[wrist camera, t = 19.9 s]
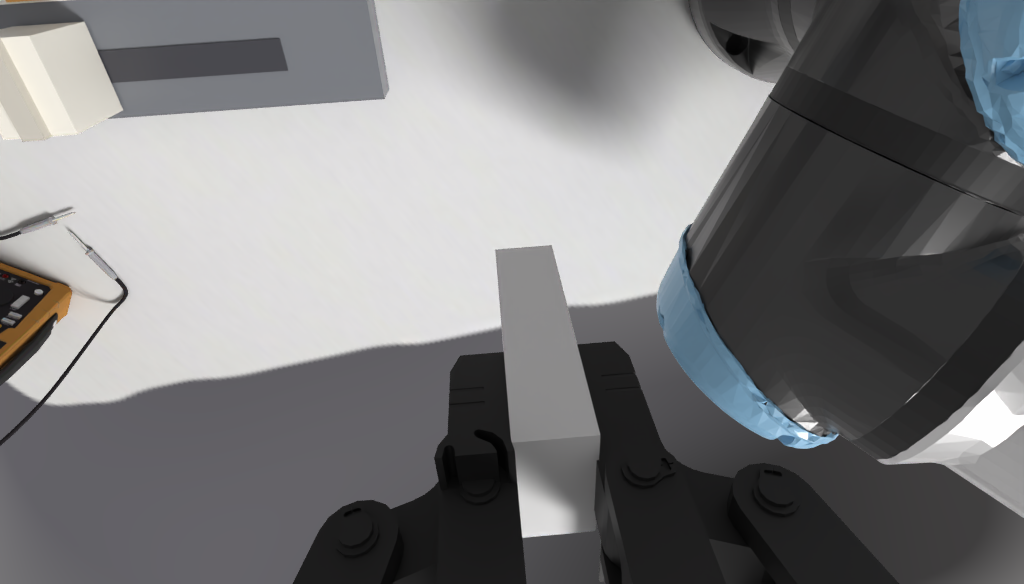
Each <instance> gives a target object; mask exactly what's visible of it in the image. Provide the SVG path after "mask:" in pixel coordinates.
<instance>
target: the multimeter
mask: <svg viewBox="0 0 1024 584" xmlns="http://www.w3.org/2000/svg"><path fill="white" fill-rule="evenodd" d="M74 213H76V212H71V213H68V214H65V215H62V216H60V217H57V218H54V217H49V218H48V219H45V220H42V221H40V222H37V223H34V224H31V225H29V226H26V227H24V228H22V229H20V231H18V232H15V233H12V234H9V235H6V236H1V237H0V240H4V239H8V238H11V237H14V236H17V235H19V234H22V233H23V234H24V233H29V232H32V231H35V230H38V229H41V228H43V227H46V226H49V225H54V224H56V223H57V220H59V219H62V218H65V217H68V216H71V215H73V214H74ZM68 232H69V233H70V235H71V236H72V237H73V238H74V239H75V240H76V241H77V242H78V243H79V244H80V245H81V246H82V247H83V248H84V249H85V250H86V251H87V252H86V253H85V254H86V255H88V256H89V257H90V258H91V259H92V260H93V261H94V262H95V263H96V264H97V265H98V266H99V267H100V268H101V269H102V270H103V271H104V272H105V273H106V274H107V275H108V276H109V277H111V278H112V279H114V280H115V281H116V282H117V283H118V284H119V285H120V286H121V287H122V288H123V290H124V296H123V298H122V299H121V300H120V301H119V302H118V303H117V304H116V305H115V306H114V307H113V309H112V310H111V311H110V312H109V313H108V315H107V316H106V317H105V318H104V320H103V321H102V322H101V324H100V325H99V326H98V328H97V329H96V330H95V332H94V333H93V334H92V336H91V337H90V339H89V340H88V341H87V343H86V344H85V345H84V347H83V348H82V349H81V351H80V352H79V353H78V355H77V356H76V357H75V359H74V360H73V361H72V363H71V364H70V365H69V367H68V368H67V369H66V371H65V372H64V373H63V375H62V376H61V377H60V378H59V380H58V381H57V382H56V383H55V385H54V386H53V387H52V388H51V390H50V391H49V392H48V393H47V395H46V396H45V397H44V398H43V399H42V400H41V401H40V403H39V404H38V405H37V406H36V407H35V408H34V409H33V410H32V411H31V412H30V413H29V414H28V415H27V416H26V417H25V418H24V419H23V420H22V421H21V422H20V423H19V424H18V425H17V426H16V427H15V428H14V429H13V430H12V431H11V432H10V433H8V434H7V435H6V436H5V437H4V438H3V439H2V440H0V446H1V445H2V444H3V443H4V442H5V441H6V440H8V439H9V438H10V437H11V436H12V435H13V434H14V433H15V432H16V431H17V430H18V429H19V428H20V427H21V426H22V425H23V424H24V423H25V422H27V421H28V420H29V419H30V418H31V417H32V415H33V414H34V413H35V412H36V411H37V410H38V409H39V408H40V407H41V406H42V405H43V404H44V403H45V401H46V400H47V399H48V398H49V397H50V396H51V394H52V393H53V392H54V391H55V389H56V388H57V387H58V386H59V384H60V383H61V382H62V381H63V379H64V378H65V377H66V375H67V374H68V373H69V371H70V370H71V369H72V367H73V366H74V365H75V363H76V362H77V361H78V359H79V358H80V356H81V355H82V354H83V352H84V351H85V350H86V348H87V347H88V346H89V344H90V343H91V342H92V340H93V339H94V337H95V336H96V335H97V333H98V332H99V331H100V329H101V328H102V326H103V325H104V324H105V322H106V321H107V320H108V319H109V317H110V316H111V315H112V313H113V312H114V311H115V310H116V309H117V308H118V307H119V306H120V305H121V304H122V303H123V302H124V300H125V299H126V297H127V296H128V290H127V288H126V286H125V285H124V284H123V283H122V282H121V281H120V280H119V279H118V278H117V276H116V274H115V273H114V272H113V271H112V270H111V269H110V268H109V267H108V266H107V265H106V264H105V263H104V261H103V260H102V259H101V258H100V257H99V256H98V255H97V254H96V253H95V252H94V250H93V249H91V250H89V249H88V248H87V247H86V246H85V245H84V244H83V243H82V242H81V241H80V240H79V239H78V238H77V237H76V236H75V235H74V234H73V233H71V232H70V231H68ZM71 295H72V291H71V289H70V288H69V287H68V286H66V285H63V284H61V283H59V282H57V283H55V282H52V281H49V280H46V279H44V278H41V277H38V276H35V275H33V274H30V273H27V272H25V271H22V270H19V269H16V268H14V267H11V266H8V265H5V264H3V263H0V385H2V384H3V383H4V382H5V381H7V380H8V379H9V378H10V377H11V376H12V375H13V374H14V373H15V372H16V371H18V370H19V369H20V368H21V367H22V366H23V365H24V364H25V363H26V362H27V361H28V360H29V359H30V358H31V357H32V356H33V355H34V354H35V353H36V352H37V351H38V350H39V349H40V347H41V346H42V345H43V344H44V342H45V341H46V340H47V338H48V337H49V336H50V335H51V330H52V329H53V327H54V326H55V325H56V324H57V323H58V322H59V321H60V320H61V319H62V318H63V317H64V316H66V315H67V312H68V308H69V304H70V299H71Z"/></svg>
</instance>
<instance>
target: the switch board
mask: <svg viewBox="0 0 1024 584" xmlns="http://www.w3.org/2000/svg"><path fill="white" fill-rule="evenodd" d="M71 22H85V24H86V26H87V29H88V31H89V33H90V36H91V38H92V40H93V42H94V45H95V47H96V49H97V51H98V54H99V56H100V58H101V61H102V63H103V65H104V67H105V70H106V72H107V74H108V77H109V79H110V81H111V83H112V86H113V88H114V90H115V92H116V95H117V97H118V99H119V102H120V104H121V106H122V108H123V111H121V112H119V113H117V114H115V115H113V116H112V117H110V118H108V119H111V118H125V117H139V116H153V115H167V114H181V113H195V112H209V111H223V110H237V109H250V108H264V107H278V106H292V105H306V104H320V103H334V102H348V101H362V100H376V99H385V97H386V94H387V92H388V90H389V86H388V80H387V74H386V68H385V62H384V56H383V51H382V45H381V39H380V33H379V27H378V21H377V16H376V10H375V4H374V0H0V29H4V28H8V27H13V26H26V25H41V24H56V23H71Z"/></svg>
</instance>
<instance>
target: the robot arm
mask: <svg viewBox="0 0 1024 584" xmlns="http://www.w3.org/2000/svg"><path fill="white" fill-rule="evenodd" d="M689 5H690V9H691V13H692V16H693V19H694V22H695V24H696V27H697V29H698V31H699V33H700V35H701V36H702V38H703V40H704V41H705V43H706V44H707V45H708V47H709V48H710V49H711V50H712V51H713V52H714V53H715V54H716V55H717V56H718V57H719V58H720V59H721V60H722V61H724V62H725V63H726V64H728V65H729V66H731V67H733V68H735V69H737V70H739V71H740V72H742V73H744V74H746V75H748V76H750V77H753V78H755V79H758V80H761V81H765V82H770V83H776V85H775V87H774V88H773V90H772V92H771V93H770V95H768V97H767V99H766V101H765V102H764V104H763V106H762V108H761V109H760V111H759V113H758V115H757V116H756V118H755V120H754V122H753V123H752V125H751V127H750V128H749V130H748V132H747V134H746V135H745V137H744V139H743V140H742V142H741V144H740V145H739V147H738V149H737V150H736V152H735V154H734V155H733V157H732V159H731V160H730V162H729V164H728V165H727V167H726V169H725V170H724V172H723V174H722V176H721V177H720V179H719V181H718V182H717V184H716V186H715V187H714V189H713V191H712V192H711V194H710V196H709V197H708V199H707V201H706V202H705V204H704V206H703V207H702V209H701V211H700V212H699V214H698V216H697V218H696V219H695V221H694V223H692V224H691V225H688V226H687V227H686V229H685V230H684V232H683V233H682V235H681V238H680V241H679V249H678V251H677V253H676V255H675V257H674V259H673V261H672V263H671V264H670V266H669V268H668V270H667V272H666V274H665V276H664V278H663V280H662V282H661V284H660V287H659V290H658V295H657V314H658V318H659V322H660V325H661V327H662V328H663V330H664V338H665V340H666V342H667V344H668V346H669V348H670V350H671V352H672V353H673V355H674V357H675V358H676V360H677V361H678V363H679V364H680V366H681V367H682V368H683V370H684V371H685V372H686V374H687V375H688V376H689V377H690V379H691V380H692V381H693V382H694V383H695V384H696V385H697V386H698V388H699V389H700V390H701V391H702V392H703V393H704V394H705V395H707V397H708V398H709V399H710V400H712V401H713V402H714V403H715V404H716V405H717V406H718V407H719V408H721V409H722V410H723V411H724V412H725V413H727V414H728V415H729V416H731V417H732V418H733V419H735V420H736V421H737V422H739V423H740V424H742V425H743V426H745V427H747V428H748V429H750V430H751V431H753V432H755V433H757V434H759V435H760V436H763V437H765V438H767V439H775V438H778V439H779V440H780V441H781V442H782V443H783V444H784V445H786V446H791V447H795V448H804V449H806V448H813V447H816V446H818V445H820V444H827V443H828V442H830V441H832V440H835V438H836V437H837V436H838V435H839V434H840V435H841V436H843V437H844V438H846V439H848V440H849V441H850V442H852V443H853V444H855V445H856V446H858V447H859V448H861V449H862V450H863V451H865V452H866V453H868V454H869V455H871V456H872V457H874V458H875V459H877V460H878V461H880V462H881V463H883V464H904V463H905V464H906V463H925V462H933V463H938V464H944V465H945V466H947V467H948V468H950V469H951V470H953V471H954V472H956V473H957V474H959V475H960V476H962V477H963V478H965V479H966V480H968V481H969V482H971V483H972V484H974V485H975V486H977V487H978V488H980V489H981V490H983V491H984V492H986V493H987V494H989V495H990V496H992V497H993V498H995V499H997V500H998V501H999V502H1001V503H1002V504H1004V505H1005V506H1007V507H1008V508H1010V509H1011V510H1013V511H1014V512H1016V513H1017V514H1019V515H1020V516H1022V517H1023V518H1024V0H689ZM496 263H497V275H498V288H499V300H500V312H501V325H502V335H503V336H502V337H503V349H504V352H499V353H487V354H475V355H463V356H460V357H459V358H458V360H457V362H456V363H455V365H454V367H453V368H452V370H451V372H450V394H449V416H448V435H447V436H446V437H445V438H444V439H443V440H442V442H441V443H440V444H439V445H438V448H437V451H436V454H435V457H434V459H435V464H436V469H437V474H438V479H439V482H438V483H437V484H436V485H435V486H434V488H432V489H431V490H430V491H428V492H427V493H426V494H425V495H423V496H421V497H419V498H417V499H415V500H413V501H411V502H408V503H406V504H403V505H400V506H398V507H395V508H393V509H390V508H389V507H388V506H387V505H386V504H383V503H380V502H376V501H374V500H366V501H356V502H354V503H351V504H349V505H346V506H343V507H342V508H340V509H339V510H338V511H337V512H335V513H334V514H332V515H331V516H330V517H329V518H328V519H327V521H326V522H325V523H324V525H323V526H322V528H321V529H320V530H319V532H318V534H317V536H316V538H315V540H314V542H313V544H312V546H311V548H310V550H309V552H308V554H307V556H306V558H305V560H304V562H303V564H302V566H301V568H300V570H299V572H298V574H297V576H296V578H295V580H294V582H293V584H526V574H525V563H524V553H523V541H522V538H523V537H535V536H545V535H556V534H567V533H578V532H589V531H595V530H596V520H597V525H598V529H599V535H600V539H601V548H600V563H599V582H605V584H899V583H898V582H897V581H896V580H895V578H894V577H893V576H892V575H891V574H890V573H889V572H888V571H887V570H886V569H885V567H883V565H882V564H881V563H880V562H879V561H878V560H877V559H876V558H875V557H874V555H873V554H872V553H871V552H870V551H869V550H868V549H867V548H866V547H865V546H864V544H862V542H861V541H860V540H859V539H858V538H857V537H856V536H855V535H854V533H853V532H852V531H851V530H850V529H849V528H848V527H847V526H846V525H845V524H844V522H843V521H842V520H841V519H840V518H839V517H838V516H837V515H836V514H835V513H834V511H833V510H832V509H831V508H830V507H829V506H828V505H827V504H826V503H825V502H824V501H823V500H822V498H821V497H820V496H819V495H818V494H817V493H816V492H815V491H814V490H813V488H812V487H811V486H810V485H809V484H808V483H806V482H805V481H804V480H803V479H802V478H800V477H799V476H798V475H797V474H795V473H794V472H791V471H789V470H787V469H785V468H783V467H781V466H777V465H771V464H766V463H760V464H753V465H748V466H747V467H745V468H743V469H741V470H739V471H738V473H737V474H736V476H735V478H730V477H724V476H719V475H714V474H708V473H704V472H700V471H697V470H693V469H691V468H689V467H687V466H685V465H683V464H681V463H680V462H678V461H677V460H676V459H675V457H674V456H673V455H671V454H670V453H669V452H668V451H666V449H665V448H664V446H663V444H662V442H661V440H660V438H659V435H658V432H657V430H656V427H655V424H654V421H653V419H652V416H651V413H650V411H649V408H648V405H647V402H646V400H645V397H644V394H643V392H642V390H641V388H640V384H639V381H638V378H637V376H636V375H635V370H634V367H633V365H632V362H631V359H630V357H629V355H628V354H627V353H626V352H625V351H624V350H623V349H622V348H621V347H620V346H619V345H618V344H617V343H616V342H602V343H590V344H578V345H577V342H576V338H575V334H574V330H573V326H572V323H571V319H570V315H569V311H568V307H567V303H566V299H565V295H564V291H563V288H562V284H561V280H560V276H559V272H558V268H557V264H556V260H555V256H554V253H553V249H552V245H549V246H536V247H524V248H511V249H498V250H496Z"/></svg>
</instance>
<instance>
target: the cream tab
mask: <svg viewBox="0 0 1024 584" xmlns="http://www.w3.org/2000/svg"><path fill="white" fill-rule="evenodd" d="M121 111H123V108H122V106H121V104H120V102H119V99H118V97H117V95H116V92H115V90H114V88H113V86H112V83H111V81H110V79H109V77H108V74H107V72H106V70H105V67H104V65H103V63H102V61H101V58H100V56H99V54H98V51H97V49H96V47H95V45H94V42H93V40H92V38H91V36H90V33H89V31H88V29H87V26H86V24H85V22H71V23H56V24H41V25H26V26H13V27H8V28H4V29H0V134H1V136H2V138H3V139H4V140H11V139H21V140H22V142H26V141H40V140H46V139H48V138H50V137H53V136H67V135H78V134H80V133H82V132H84V131H86V130H88V129H89V128H91V127H93V126H95V125H97V124H99V123H100V122H102V121H104V120H106V119H108V118H110V117H112V116H113V115H115V114H117V113H119V112H121Z"/></svg>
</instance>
